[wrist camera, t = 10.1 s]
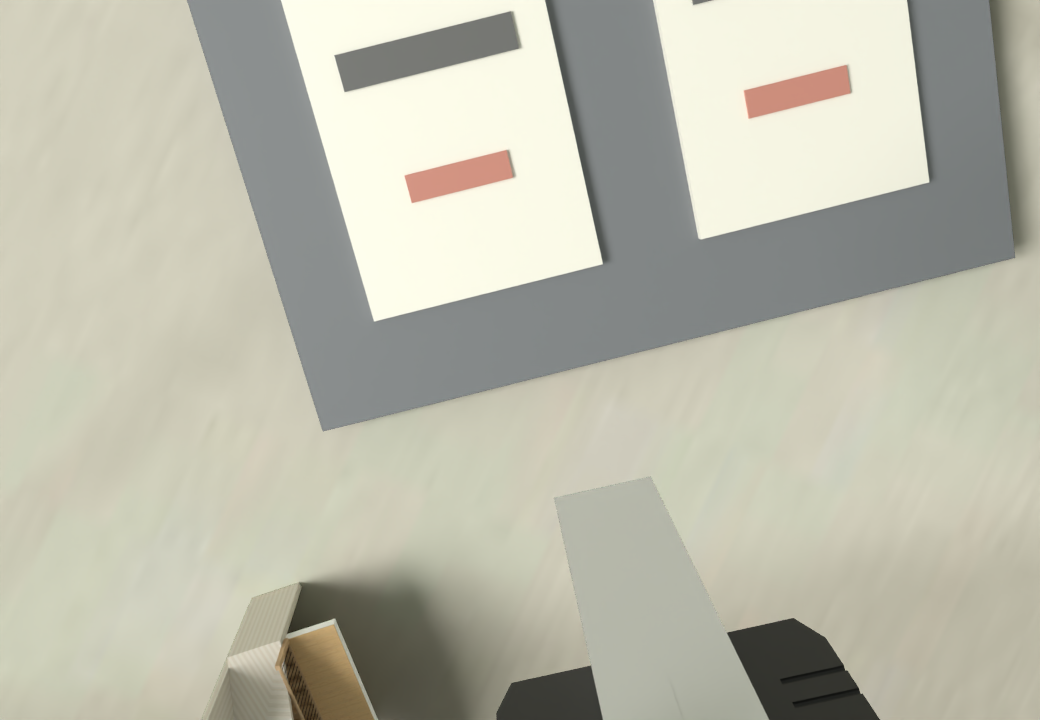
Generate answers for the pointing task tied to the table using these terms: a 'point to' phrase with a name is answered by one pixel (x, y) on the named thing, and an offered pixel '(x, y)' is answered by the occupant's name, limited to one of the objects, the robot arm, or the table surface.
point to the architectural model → (287, 669)
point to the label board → (595, 173)
